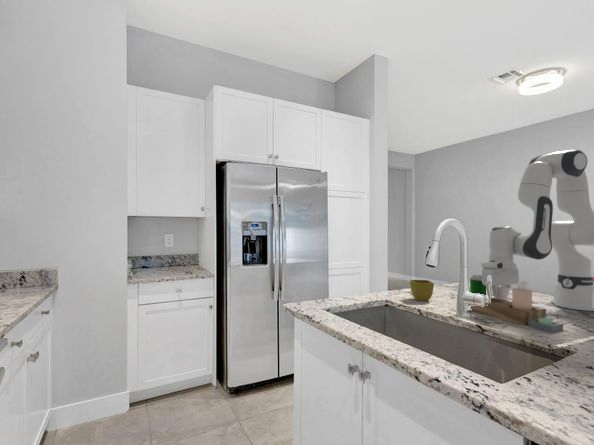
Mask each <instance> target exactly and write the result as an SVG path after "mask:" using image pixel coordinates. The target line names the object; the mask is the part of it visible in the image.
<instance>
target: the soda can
mask: <svg viewBox="0 0 594 445" xmlns="http://www.w3.org/2000/svg"><path fill="white" fill-rule="evenodd" d="M469 283H470V285H469V288H470V289H469V292H472V293H480V294H484V295H486V286H484V285H483V283H482V274H481V275H480V274H476V275H475V274H473V275H472V276H470V280H469Z"/></svg>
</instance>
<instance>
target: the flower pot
mask: <svg viewBox="0 0 594 445" xmlns="http://www.w3.org/2000/svg"><path fill="white" fill-rule="evenodd" d="M409 284H410V291H411V295H412V296H413V298H414V299H415V300H417V301H419V302H422V301H424V302H428V301H429V300H431V298H432V295H433V292H434V286H435V283H434V282H432V281H430V280H428V279H409Z"/></svg>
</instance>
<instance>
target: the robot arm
mask: <svg viewBox="0 0 594 445" xmlns="http://www.w3.org/2000/svg"><path fill="white" fill-rule="evenodd" d="M587 164H588V157H587V155H586V154H585V153H584V152H583V151H582V150H580V149H568V150H562V151H555V152H551V153H547V154H544V155H543V154H542V155H538V156H535V157H534V158H532V159H531V160H530V161H529V163H528V165H527V167H526V168H525V170H524V172H523V173H522V177H521V180H520V184H519V186H518V192H517V194H518V196H517V199H518V200H519V202H520V203H521V204H522V205H523V206H525V207H527V208H529V209H531V210H532V212H533V222H532V230H531V231H532V232H531V233H530V234H528V233H527V234H526V233H522V232H519V231H517V230H516V229H514V228H513V226H510V225H503V226H502V225H501V226H494V227H493V228H492V229H491V231H490V234H489V249H490V251H489V255H488V256H489V258H487V259H486V260H484V261H482V262H481V268H482V270H481V275H482V283H483V285H484V286H486V282H487V276H488V275H491V276H492V290H491V291H492V297H494V296H499V292H497V286H502V285H503V286H504V287H508V288H509V292H508V296H509V295H510V290H511V288H512V285H518V282H520V276H519V274H520V272H519V269H518V267H517V265H516V263H515V262H514V256H519V257H524V258H525V257H526V258H530V259H534V260H543V259H545V258H547V257H548V256H549V255H550V254H551V252H552V250H554V251H555V253H556V256H557V260H558V274H557V282H558V283H557V284H556V285H555V286H554V289H553V290H554V291H553V299H552V300H551V299H550V303H551V304H553V305H555V306H557V307H561V308H565V309H570V310H576V311H577V310H578V311H589V312H594V277H593V276H592V261H591V259H590V258H589V257H588V256H587V255H586V254H583V253H581V252H579V251H578V250H577V248H576V246H589V247H591V246H592V247H594V210H593V208H592V205H591V201H590V200H591V199H590V192H589V191H590V190H589V181H588V178H587V174H586V168H587ZM554 178H555V179H556V203H557V204H556V205H557V208H558V210H559V211H561V212H562V213H565V214H568V215H570V216H571V217H572V219H573V220H557V221H553V216H554V215H553V213H554V212H553V211H554V208H553V207H554V204H553V201H552V199H551V196H550V195H551V189H552V188H551V187H552V184H553V179H554Z"/></svg>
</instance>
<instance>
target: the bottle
mask: <svg viewBox="0 0 594 445" xmlns="http://www.w3.org/2000/svg"><path fill="white" fill-rule="evenodd" d="M527 283H528V282H526V281H519V282H518V284H517V288H512V289H511V290H512V294H511V295H512V300H511V302H512V308H516V309H521V310H525V311H528V310H532V306H533V290H530V289H527V288H528V284H527Z"/></svg>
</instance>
